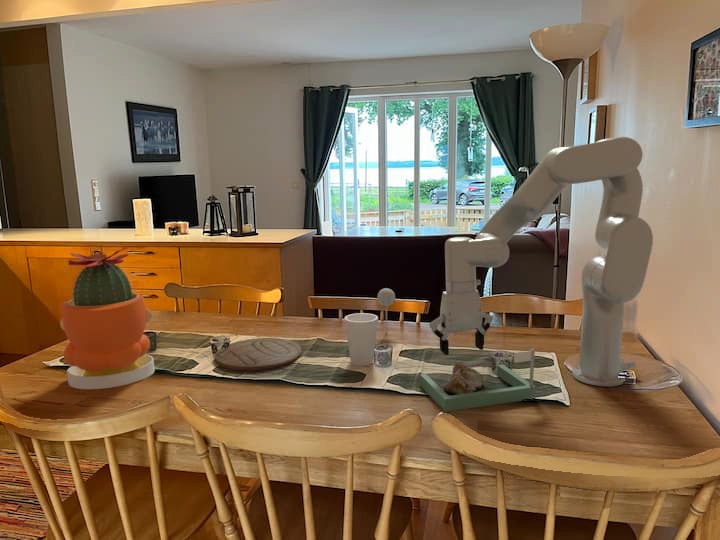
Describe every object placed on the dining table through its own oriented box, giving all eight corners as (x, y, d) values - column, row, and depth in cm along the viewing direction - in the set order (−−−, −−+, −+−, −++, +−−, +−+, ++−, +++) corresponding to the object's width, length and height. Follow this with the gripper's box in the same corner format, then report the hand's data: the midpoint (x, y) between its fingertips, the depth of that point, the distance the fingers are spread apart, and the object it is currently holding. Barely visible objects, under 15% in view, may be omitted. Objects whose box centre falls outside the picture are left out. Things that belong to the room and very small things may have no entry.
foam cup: (375, 368, 150) (374, 323, 147) (342, 366, 152) (341, 321, 149) (380, 356, 159) (380, 313, 157) (349, 355, 161) (348, 312, 158)
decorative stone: (486, 361, 140) (480, 390, 127) (485, 376, 142) (480, 406, 128) (449, 357, 143) (439, 385, 130) (448, 372, 145) (439, 401, 131)
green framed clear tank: (502, 375, 144) (503, 331, 141) (535, 398, 129) (537, 350, 127) (420, 385, 138) (420, 340, 136) (445, 411, 123) (445, 361, 121)
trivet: (240, 380, 144) (239, 373, 144) (201, 356, 164) (200, 350, 163) (317, 358, 160) (317, 351, 160) (273, 338, 179) (273, 332, 179)
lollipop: (375, 330, 184) (374, 287, 181) (391, 328, 186) (391, 285, 183) (381, 335, 178) (380, 291, 175) (398, 333, 180) (397, 289, 177)
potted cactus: (71, 371, 152) (56, 247, 146) (156, 360, 160) (145, 241, 153) (60, 401, 132) (41, 259, 126) (157, 387, 140) (144, 252, 133)
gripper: (484, 280, 144) (485, 342, 147) (423, 287, 139) (425, 350, 143) (499, 285, 136) (499, 350, 140) (434, 293, 132) (436, 360, 135)
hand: (462, 350), depth 141 cm, fingers open, 9 cm apart
